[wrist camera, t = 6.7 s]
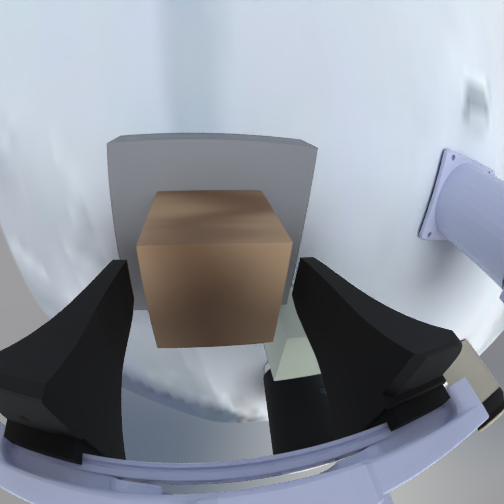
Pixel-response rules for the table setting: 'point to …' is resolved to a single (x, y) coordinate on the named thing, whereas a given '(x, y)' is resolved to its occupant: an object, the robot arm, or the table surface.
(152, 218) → the walnut cube
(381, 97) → the table surface
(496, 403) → the travel mug
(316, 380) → the dixie cup
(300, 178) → the grey square slab
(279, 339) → the sage cube
